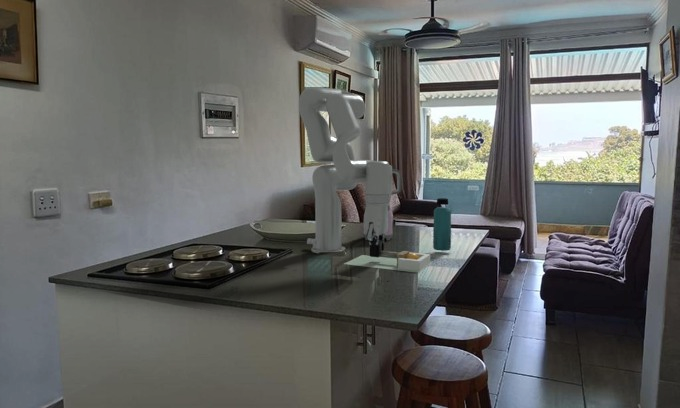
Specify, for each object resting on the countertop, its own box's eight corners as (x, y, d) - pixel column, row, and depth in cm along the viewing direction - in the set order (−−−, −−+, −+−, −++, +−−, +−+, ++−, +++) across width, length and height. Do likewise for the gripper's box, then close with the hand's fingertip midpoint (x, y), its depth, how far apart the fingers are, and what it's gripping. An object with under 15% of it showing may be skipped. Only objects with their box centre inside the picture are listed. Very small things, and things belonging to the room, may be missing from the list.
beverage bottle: (451, 255, 179) (452, 199, 177) (432, 254, 180) (433, 198, 178) (450, 251, 185) (452, 197, 183) (432, 250, 187) (433, 197, 184)
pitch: (343, 266, 161) (343, 263, 161) (362, 257, 174) (362, 255, 174) (418, 275, 150) (418, 272, 150) (432, 265, 163) (432, 262, 163)
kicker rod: (368, 262, 162) (369, 241, 161) (376, 258, 167) (376, 238, 166) (402, 266, 157) (403, 245, 156) (409, 262, 162) (409, 241, 161)
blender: (363, 241, 205) (363, 162, 202) (362, 236, 217) (363, 161, 214) (402, 241, 205) (403, 162, 201) (399, 236, 217) (400, 161, 213)
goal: (397, 268, 155) (398, 259, 155) (409, 261, 165) (409, 252, 164) (419, 271, 152) (420, 261, 152) (430, 263, 162) (430, 254, 161)
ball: (413, 252, 156) (418, 264, 156) (417, 250, 159) (422, 262, 159) (402, 256, 158) (407, 268, 157) (406, 254, 161) (411, 266, 161)
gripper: (376, 196, 171) (375, 250, 173) (356, 201, 156) (355, 259, 158) (397, 197, 167) (396, 252, 169) (378, 202, 153) (378, 262, 155)
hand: (376, 255), depth 164 cm, fingers closed on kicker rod, 3 cm apart
